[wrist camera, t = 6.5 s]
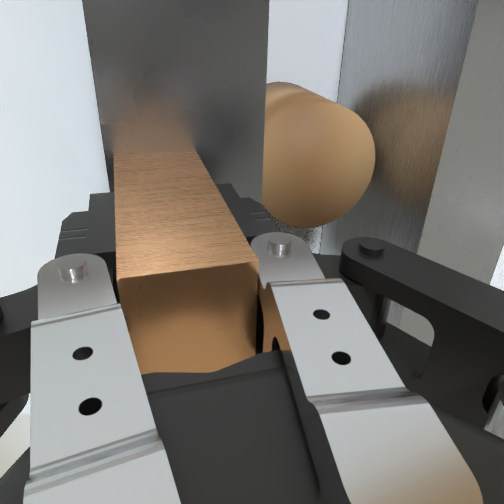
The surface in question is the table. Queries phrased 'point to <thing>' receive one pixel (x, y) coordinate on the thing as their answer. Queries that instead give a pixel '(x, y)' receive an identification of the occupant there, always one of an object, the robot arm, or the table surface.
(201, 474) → the robot arm
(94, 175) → the table surface
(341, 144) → the nut
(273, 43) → the table surface
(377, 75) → the grey rectangular block
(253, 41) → the press jaw
